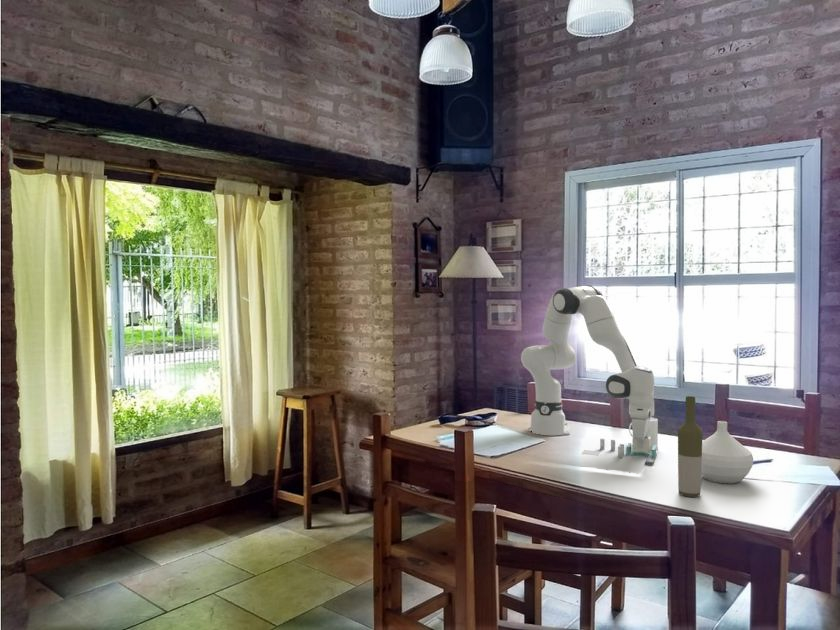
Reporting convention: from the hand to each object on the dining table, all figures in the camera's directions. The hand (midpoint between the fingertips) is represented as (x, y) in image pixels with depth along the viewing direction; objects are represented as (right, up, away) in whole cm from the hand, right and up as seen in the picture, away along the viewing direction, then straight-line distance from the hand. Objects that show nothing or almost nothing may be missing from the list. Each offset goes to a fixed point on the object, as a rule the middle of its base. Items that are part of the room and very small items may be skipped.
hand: (641, 446), depth 233 cm
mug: (+6, -4, +15) cm, 17 cm away
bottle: (-1, -6, -44) cm, 44 cm away
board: (-8, -4, +1) cm, 9 cm away
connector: (0, -1, 0) cm, 1 cm away
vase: (+17, -5, -28) cm, 33 cm away
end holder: (0, -3, 0) cm, 3 cm away
